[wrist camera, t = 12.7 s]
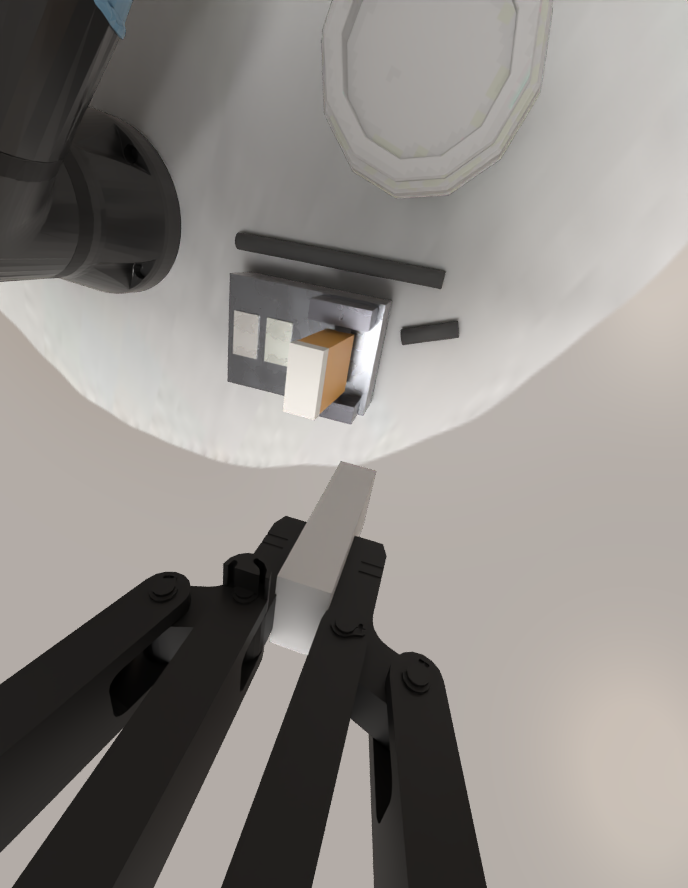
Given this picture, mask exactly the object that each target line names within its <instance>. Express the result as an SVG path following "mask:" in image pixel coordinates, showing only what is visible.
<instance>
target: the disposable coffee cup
mask: <svg viewBox="0 0 688 888" xmlns="http://www.w3.org/2000/svg"><path fill="white" fill-rule="evenodd" d="M552 3H553V0H332V2H331V5H330V8H329V11H328V14H327V17H326V20H325V23H324V26H323V29H322V36H323V37H322V40H321V49H322V75H323V100H324V114H325V116H326V118H327V121H328V123H329V125H330V127H331V129H332V131H333V133H334V135H335V137H336V139H337V141H338V143H339V145H340V147H341V149H342V151H343V153H344V155H345V157H346V159H347V161H348V163H349V165H350V167H351V169H352V171H353V172H354V173H356V174H358V175H359V176H361V177H362V178H364V179H365V180H367V181H369V182H370V183H372V184H373V185H375V186H377V187H378V188H380V189H381V190H383V191H385V192H386V193H388V194H389V195H391V196H393V197H394V198H396V199H397V198H413V197H429V196H444V195H449V194H451V193H452V192H454V191H455V190H457V189H458V188H459V187H461V186H462V185H464V184H465V183H467V182H468V181H470V180H471V179H473V178H474V177H475V176H477V175H478V174H480V173H481V172H483V171H484V170H486V169H487V168H488V167H490V166H491V165H493V164H494V163H496V162H497V161H499V160H500V159H501V158H502V156H503V154H504V153H505V151H506V149H507V148H508V146H509V144H510V143H511V141H512V139H513V138H514V136H515V134H516V133H517V131H518V129H519V128H520V126H521V124H522V123H523V121H524V119H525V118H526V116H527V114H528V113H529V111H530V109H531V108H532V106H533V104H534V103H535V101H536V99H537V98H538V96H539V94H540V92H541V86H542V79H543V72H544V66H545V59H546V52H547V46H548V39H549V32H550V26H551V19H552V13H553V8H552Z"/></svg>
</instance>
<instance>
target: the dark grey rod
mask: <svg viewBox="0 0 688 888" xmlns="http://www.w3.org/2000/svg"><path fill="white" fill-rule="evenodd" d="M235 245H236V248H237V249H240V250H245V251H250V252H255V253H260V254H266V255H271V256H276V257H281V258H286V259H291V260H296V261H301V262H306V263H311V264H316V265H321V266H327V267H332V268H337V269H342V270H347V271H352V272H357V273H362V274H367V275H372V276H377V277H382V278H388V279H393V280H398V281H403V282H408V283H413V284H418V285H423V286H428V287H433V288H438V289H441V288H442V284H443V280H444V276H445V272H446V271H441V270H435V269H430V268H425V267H420V266H414V265H409V264H404V263H398V262H393V261H388V260H383V259H377V258H372V257H367V256H361V255H356V254H351V253H346V252H340V251H335V250H330V249H325V248H319V247H314V246H309V245H303V244H298V243H293V242H288V241H282V240H277V239H272V238H266V237H261V236H256V235H251V234H245V233H240V232H238V233H237V234H236V237H235Z"/></svg>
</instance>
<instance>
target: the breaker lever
mask: <svg viewBox="0 0 688 888" xmlns="http://www.w3.org/2000/svg"><path fill="white" fill-rule="evenodd" d="M353 340H354V334H351V328H346V327H342V326H337V325H335V329H334V330H333V329H329V328H326V329H324V330H322V331H319V332H317V333H314V334H312V335H309V336H307V337H305V338H302V339H300V340H295V341H292V342H290V343H289V353H288V363H287V374H286V384H285V394H284V405H283V411H284V412H287V413H290V414H294V415H297V416H301V417H304V418H307V419H311V420H315V419H316V418H317V417H318V416H319V414H320V413H321V412H323V411H324V410H325V409H326V408H327V407H328V406H329V405H330V404H331V403H332V402H334V401H335V400H336V399H337V398H338V397H339V396H340V395H341V394H342V393H343V392H345V386H346V381H347V375H348V369H349V363H350V357H351V351H352V346H353Z"/></svg>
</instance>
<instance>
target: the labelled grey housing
mask: <svg viewBox="0 0 688 888" xmlns="http://www.w3.org/2000/svg"><path fill="white" fill-rule="evenodd" d="M391 305H392V301H391V300H386V299H381V298H376V297H371V296H367V295H362V294H357V293H352V292H347V291H342V290H337V289H332V288H328V287H323V286H318V285H313V284H308V283H303V282H298V281H293V280H289V279H284V278H279V277H274V276H269V275H264V274H259V273H254V272H241V273H230V297H229V340H228V382H232V383H236V384H240V385H244V386H248V387H252V388H255V389H259V390H263V391H267V392H271V393H275V394H279V395H283V396H284V394H285V384H286V374H287V363H288V353H289V343H290V342H292V341H295V340H300V339H302V338H305V337H307V336H309V335H312V334H314V333H317V332H319V331H322V330H324V329H326V328H329V329H333V330H334V329H335V325H337V326H342V327H346V328H351V334H354V340H353V346H352V351H351V357H350V363H349V369H348V375H347V381H346V386H345V392H343V393H342V394H341V395H340V396H339V397H338V398H337V399H336V400H335V401H334V402H332V403H331V404H330V405H329V406H328V407H327V408H326V409H325V410H324V411H323V412H321V413H320V414H319V416H320V417H324V418H328V419H331V420H335V421H339V422H343V423H347V424H352V422H353V421H354V419H355V417H356V416H357V414H358V415H362V416H363V415H364V414H365V412H366V410H367V408H368V407H369V405H370V403H371V401H372V396H373V391H374V386H375V382H376V377H377V372H378V367H379V362H380V358H381V353H382V348H383V343H384V338H385V334H386V329H387V324H388V319H389V314H390V310H391Z"/></svg>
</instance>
